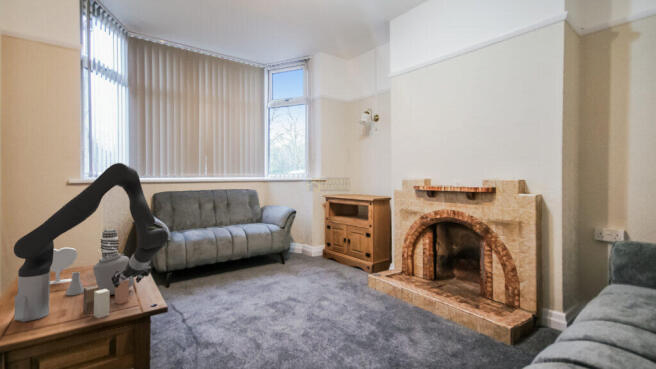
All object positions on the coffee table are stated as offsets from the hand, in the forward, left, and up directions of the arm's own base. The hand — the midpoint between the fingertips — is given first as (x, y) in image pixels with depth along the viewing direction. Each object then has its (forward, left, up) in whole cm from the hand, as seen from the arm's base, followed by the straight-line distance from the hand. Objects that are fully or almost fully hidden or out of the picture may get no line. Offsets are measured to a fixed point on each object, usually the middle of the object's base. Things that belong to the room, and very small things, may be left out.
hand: (126, 283), depth 137 cm
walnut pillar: (-11, +7, -9) cm, 16 cm away
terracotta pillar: (+1, +5, -9) cm, 11 cm away
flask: (0, +35, -10) cm, 36 cm away
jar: (+7, +20, -10) cm, 23 cm away
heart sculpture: (+7, +61, -10) cm, 62 cm away
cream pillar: (-12, -1, -9) cm, 15 cm away
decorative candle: (+33, +59, -10) cm, 68 cm away
